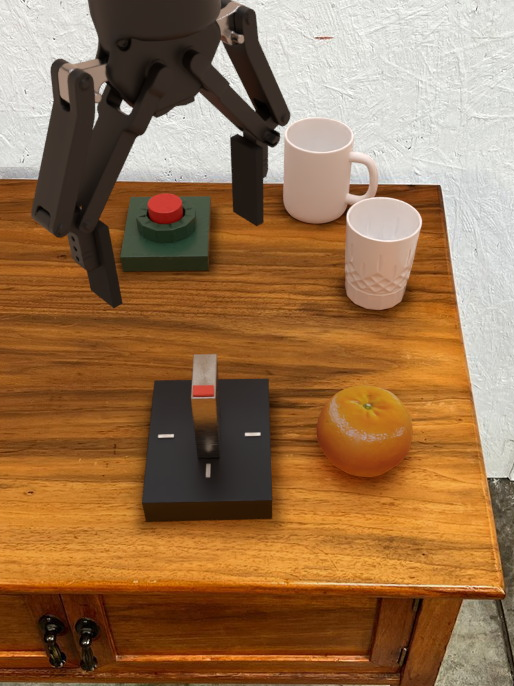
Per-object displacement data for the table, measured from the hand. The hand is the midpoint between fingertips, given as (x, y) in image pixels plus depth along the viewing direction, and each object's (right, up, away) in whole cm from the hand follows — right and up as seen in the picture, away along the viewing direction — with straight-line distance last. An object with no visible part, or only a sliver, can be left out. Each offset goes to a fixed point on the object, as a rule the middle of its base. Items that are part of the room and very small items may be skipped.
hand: (181, 255), depth 58 cm
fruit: (+15, -16, +15) cm, 27 cm away
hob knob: (+1, -14, +12) cm, 19 cm away
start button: (-6, +10, +34) cm, 36 cm away
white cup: (+18, 0, +31) cm, 36 cm away
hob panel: (+1, -17, +14) cm, 22 cm away
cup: (+14, +12, +42) cm, 45 cm away
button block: (-6, +7, +37) cm, 38 cm away
